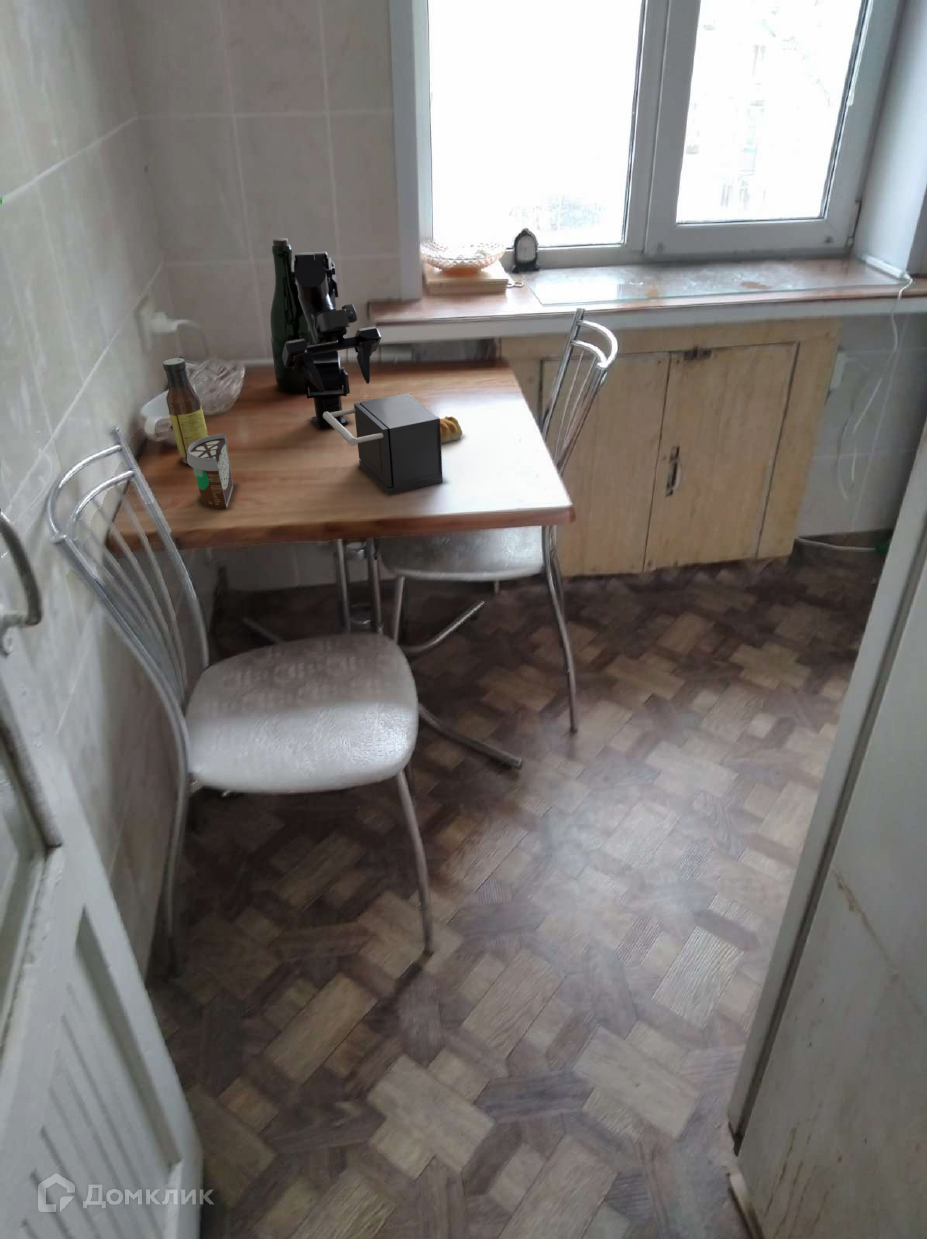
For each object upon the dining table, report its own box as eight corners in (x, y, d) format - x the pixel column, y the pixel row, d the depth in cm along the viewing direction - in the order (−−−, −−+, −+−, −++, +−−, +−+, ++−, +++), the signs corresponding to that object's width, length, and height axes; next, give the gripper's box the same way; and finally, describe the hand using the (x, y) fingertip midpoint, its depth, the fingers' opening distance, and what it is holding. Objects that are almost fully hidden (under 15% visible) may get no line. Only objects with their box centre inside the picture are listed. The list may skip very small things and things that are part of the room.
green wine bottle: (270, 393, 211) (247, 242, 193) (287, 378, 219) (267, 233, 201) (312, 395, 209) (294, 243, 191) (328, 380, 217) (311, 233, 199)
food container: (201, 484, 170) (191, 434, 165) (234, 482, 170) (225, 432, 165) (190, 514, 160) (179, 461, 154) (225, 512, 160) (215, 459, 155)
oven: (388, 495, 164) (383, 429, 157) (359, 465, 176) (353, 403, 169) (442, 482, 168) (440, 418, 161) (411, 454, 179) (407, 393, 172)
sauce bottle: (219, 455, 181) (200, 357, 170) (201, 468, 176) (181, 367, 165) (191, 452, 183) (170, 354, 172) (173, 464, 178) (151, 364, 167)
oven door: (355, 494, 161) (349, 436, 155) (328, 464, 172) (321, 409, 166) (392, 486, 164) (387, 428, 158) (363, 457, 175) (358, 402, 169)
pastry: (428, 449, 181) (427, 431, 179) (409, 440, 185) (407, 422, 183) (465, 437, 186) (464, 419, 184) (445, 428, 190) (444, 411, 188)
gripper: (278, 298, 164) (305, 376, 162) (373, 283, 170) (401, 357, 169) (271, 330, 174) (297, 403, 172) (361, 314, 181) (387, 385, 179)
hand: (346, 387), depth 173 cm, fingers open, 9 cm apart
